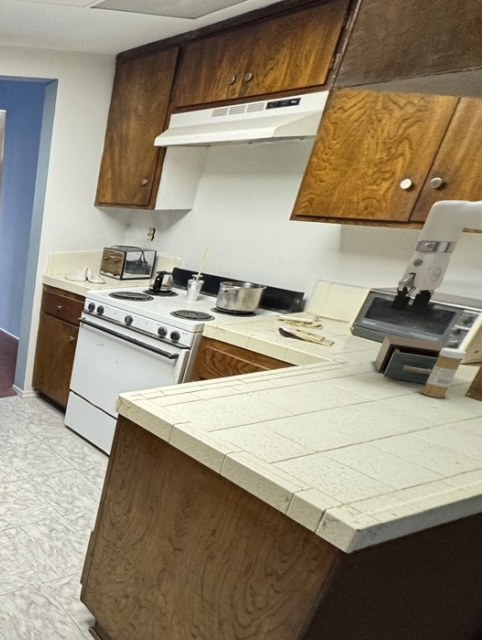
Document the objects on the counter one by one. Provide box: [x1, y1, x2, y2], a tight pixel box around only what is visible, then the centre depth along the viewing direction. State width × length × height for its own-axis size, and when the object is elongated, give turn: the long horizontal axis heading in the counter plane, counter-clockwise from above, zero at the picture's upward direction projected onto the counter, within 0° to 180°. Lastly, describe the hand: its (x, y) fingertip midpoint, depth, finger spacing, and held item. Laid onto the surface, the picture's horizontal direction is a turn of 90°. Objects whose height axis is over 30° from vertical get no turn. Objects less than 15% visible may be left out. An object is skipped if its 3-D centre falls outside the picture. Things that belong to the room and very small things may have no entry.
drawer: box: [383, 347, 439, 385], centre depth 143 cm, size 18×11×8 cm, turn 139°
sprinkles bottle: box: [421, 347, 467, 398], centre depth 130 cm, size 5×5×13 cm
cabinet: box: [374, 334, 446, 374], centre depth 150 cm, size 15×13×10 cm
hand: (408, 308), depth 137 cm, fingers open, 9 cm apart
